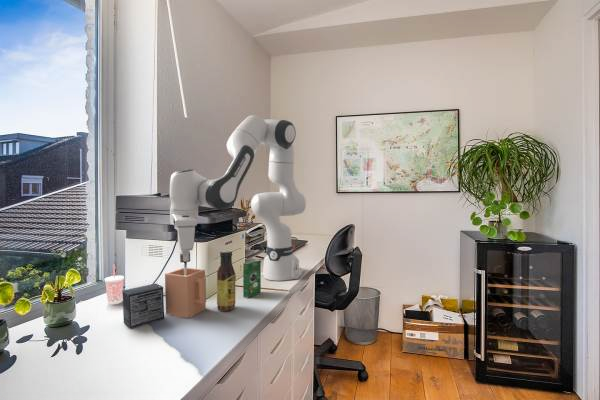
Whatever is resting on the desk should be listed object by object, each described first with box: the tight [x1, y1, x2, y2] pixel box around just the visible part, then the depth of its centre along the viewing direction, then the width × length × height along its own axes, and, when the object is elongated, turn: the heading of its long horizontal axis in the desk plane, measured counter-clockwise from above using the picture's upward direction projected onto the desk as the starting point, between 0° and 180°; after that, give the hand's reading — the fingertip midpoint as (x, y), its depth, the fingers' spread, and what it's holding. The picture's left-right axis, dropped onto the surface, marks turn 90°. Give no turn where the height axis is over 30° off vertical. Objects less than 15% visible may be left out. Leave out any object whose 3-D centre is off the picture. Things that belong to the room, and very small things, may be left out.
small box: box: [122, 282, 165, 329], centre depth 104 cm, size 11×6×10 cm, turn 134°
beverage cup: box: [104, 263, 125, 305], centre depth 120 cm, size 6×6×14 cm
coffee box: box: [242, 259, 262, 299], centre depth 128 cm, size 8×3×13 cm, turn 151°
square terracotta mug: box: [164, 267, 207, 319], centre depth 111 cm, size 9×12×14 cm
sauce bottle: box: [216, 250, 236, 312], centre depth 114 cm, size 7×6×20 cm
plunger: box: [179, 251, 191, 276], centre depth 111 cm, size 7×7×17 cm
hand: (185, 259), depth 111 cm, fingers open, 3 cm apart
